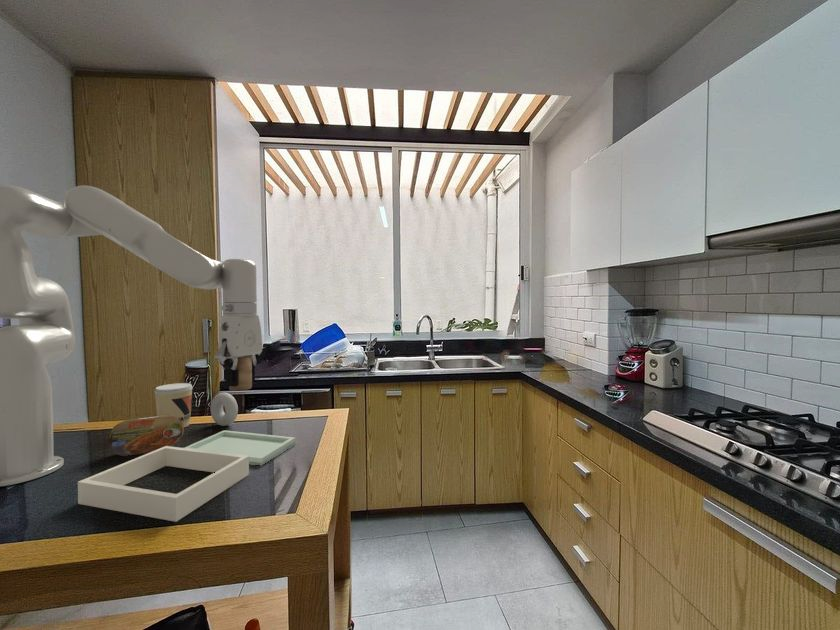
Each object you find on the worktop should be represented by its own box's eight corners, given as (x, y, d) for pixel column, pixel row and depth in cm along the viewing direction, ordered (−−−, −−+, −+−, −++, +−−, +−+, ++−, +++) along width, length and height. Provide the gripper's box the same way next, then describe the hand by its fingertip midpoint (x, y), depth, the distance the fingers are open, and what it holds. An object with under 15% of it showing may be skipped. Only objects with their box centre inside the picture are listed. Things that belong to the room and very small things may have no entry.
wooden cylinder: (224, 390, 86) (224, 357, 85) (239, 385, 90) (239, 354, 90) (242, 391, 84) (241, 358, 84) (256, 386, 89) (256, 355, 89)
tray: (182, 456, 84) (181, 448, 84) (224, 436, 97) (224, 430, 97) (261, 466, 79) (261, 458, 79) (295, 444, 91) (295, 437, 91)
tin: (106, 458, 83) (105, 423, 83) (111, 453, 86) (111, 419, 85) (182, 448, 89) (182, 415, 89) (185, 444, 92) (184, 412, 91)
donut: (240, 426, 105) (240, 393, 105) (230, 430, 102) (230, 395, 102) (218, 421, 109) (218, 389, 109) (207, 425, 106) (207, 392, 106)
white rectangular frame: (78, 503, 64) (77, 481, 64) (166, 463, 80) (166, 445, 80) (176, 521, 58) (175, 498, 58) (248, 474, 75) (248, 455, 75)
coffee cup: (178, 431, 100) (178, 390, 100) (146, 431, 101) (146, 389, 100) (200, 421, 110) (199, 382, 109) (170, 421, 110) (169, 382, 110)
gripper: (226, 310, 78) (226, 392, 78) (275, 309, 94) (275, 377, 95) (198, 310, 80) (199, 390, 80) (251, 309, 96) (251, 376, 97)
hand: (240, 382), depth 87 cm, fingers closed on wooden cylinder, 5 cm apart
